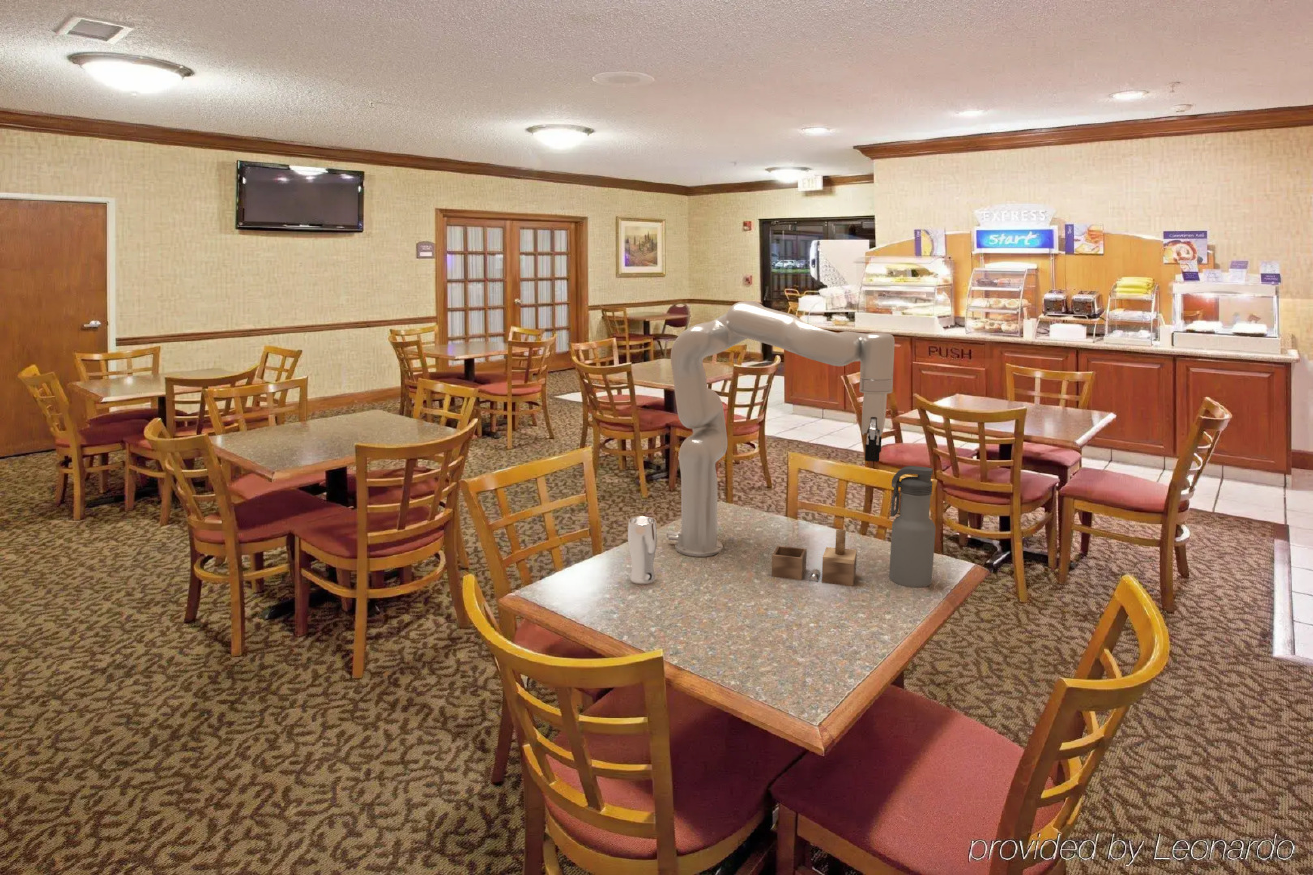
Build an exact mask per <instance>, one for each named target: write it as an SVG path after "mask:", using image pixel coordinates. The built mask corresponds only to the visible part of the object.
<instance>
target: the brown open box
mask: <svg viewBox="0 0 1313 875" xmlns="http://www.w3.org/2000/svg"><path fill="white" fill-rule="evenodd" d="M807 551H808V548H803V547H794V546H784V545H777V546H776V548H775V550H774V551H773V553H772V555H771V577H772V578H774V577H775V578H779V579H780V578H781V579H789V580H797V581H802V580H803V578H804V575H805V573H806V571H807V553H808V552H807Z"/></svg>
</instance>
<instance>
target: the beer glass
mask: <svg viewBox="0 0 1313 875" xmlns="http://www.w3.org/2000/svg"><path fill="white" fill-rule="evenodd" d="M627 526H628V527H627V543H628V544H627V546H628V551H629V556H630V563H631V573H630V577H629V581H630V582H631V583H633V584H636V585H649V584H652V583H654V582H655V581H656V575H655V569H654V564H655V558H656V557H655V556H656V551H657V544H658V533H657V531H658V530H657V520H656V519H655V518H654V517H650V516H634V517H631V518H629V520H628V525H627Z"/></svg>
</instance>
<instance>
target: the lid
mask: <svg viewBox="0 0 1313 875" xmlns="http://www.w3.org/2000/svg"><path fill="white" fill-rule="evenodd" d="M846 535H847V534H846V530H845V529H841V528H840V529H839V528H838V529H836V531H835V547H833V546H832V547H831V546H826V547H825V550H824V552H823V555H822V562H823V561H829V562H838V563H848V564H854V562H855V558H856V554H857V555H858V552H857V549H852V548H851V549H849V548H846Z"/></svg>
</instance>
